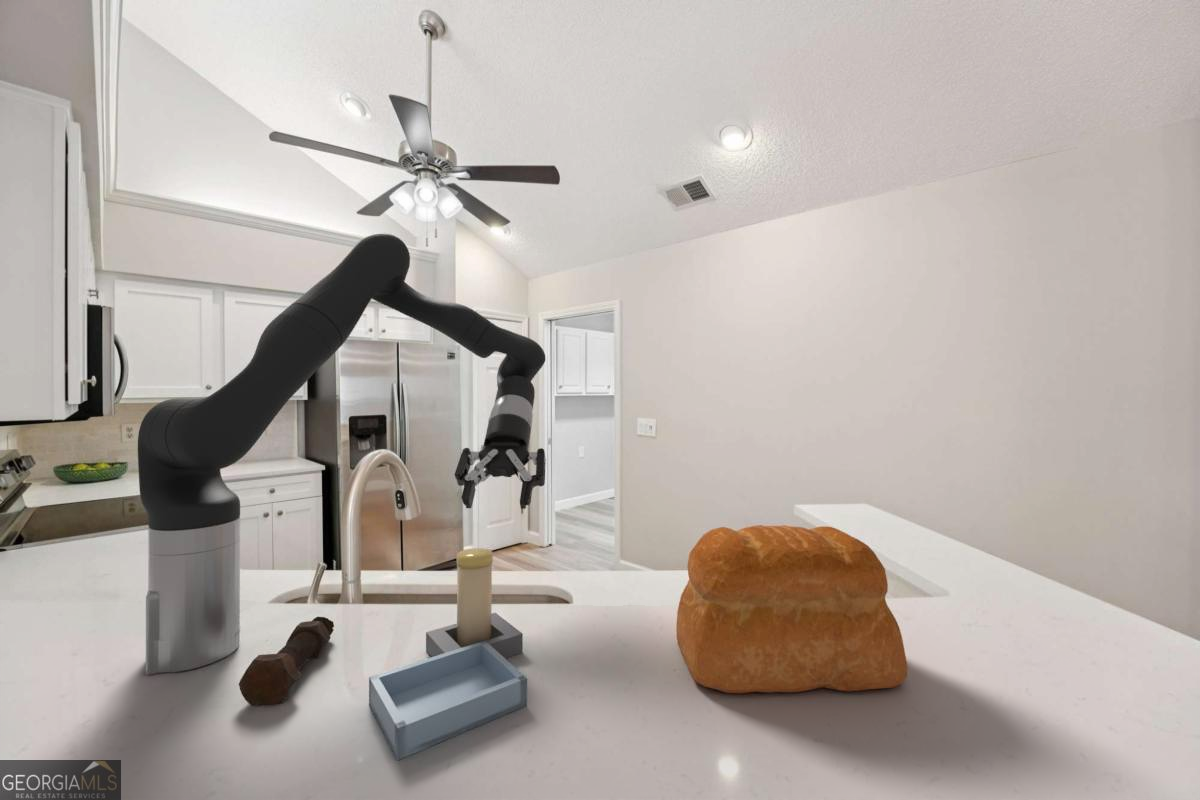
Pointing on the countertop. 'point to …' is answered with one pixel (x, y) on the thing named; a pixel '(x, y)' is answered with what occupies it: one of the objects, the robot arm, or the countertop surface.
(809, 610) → the bread
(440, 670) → the parts tray
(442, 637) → the fuse holder
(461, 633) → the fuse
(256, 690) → the bolt
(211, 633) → the robot arm
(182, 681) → the countertop surface
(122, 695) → the countertop surface
